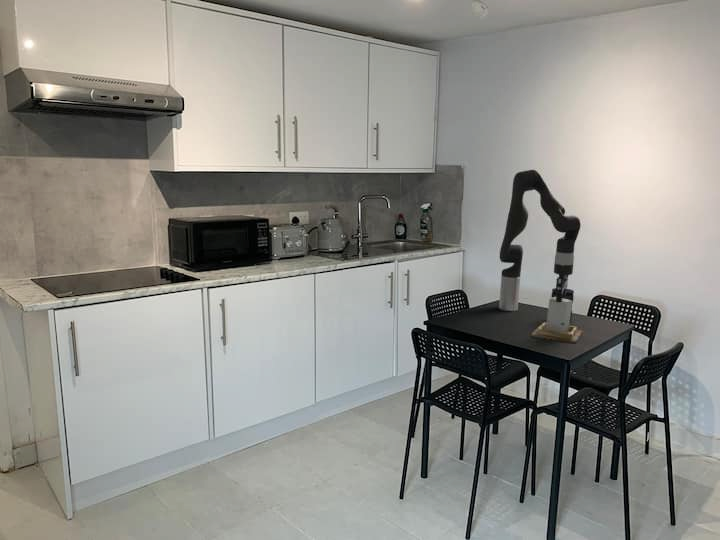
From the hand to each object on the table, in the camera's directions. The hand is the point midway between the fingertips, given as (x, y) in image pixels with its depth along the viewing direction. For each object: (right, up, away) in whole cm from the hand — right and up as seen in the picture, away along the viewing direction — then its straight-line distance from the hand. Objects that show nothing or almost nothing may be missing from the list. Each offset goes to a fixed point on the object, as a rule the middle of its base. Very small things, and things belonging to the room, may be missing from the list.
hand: (560, 299), depth 238 cm
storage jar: (+9, -12, +26) cm, 30 cm away
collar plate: (-1, -15, +3) cm, 15 cm away
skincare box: (0, -14, +3) cm, 15 cm away
